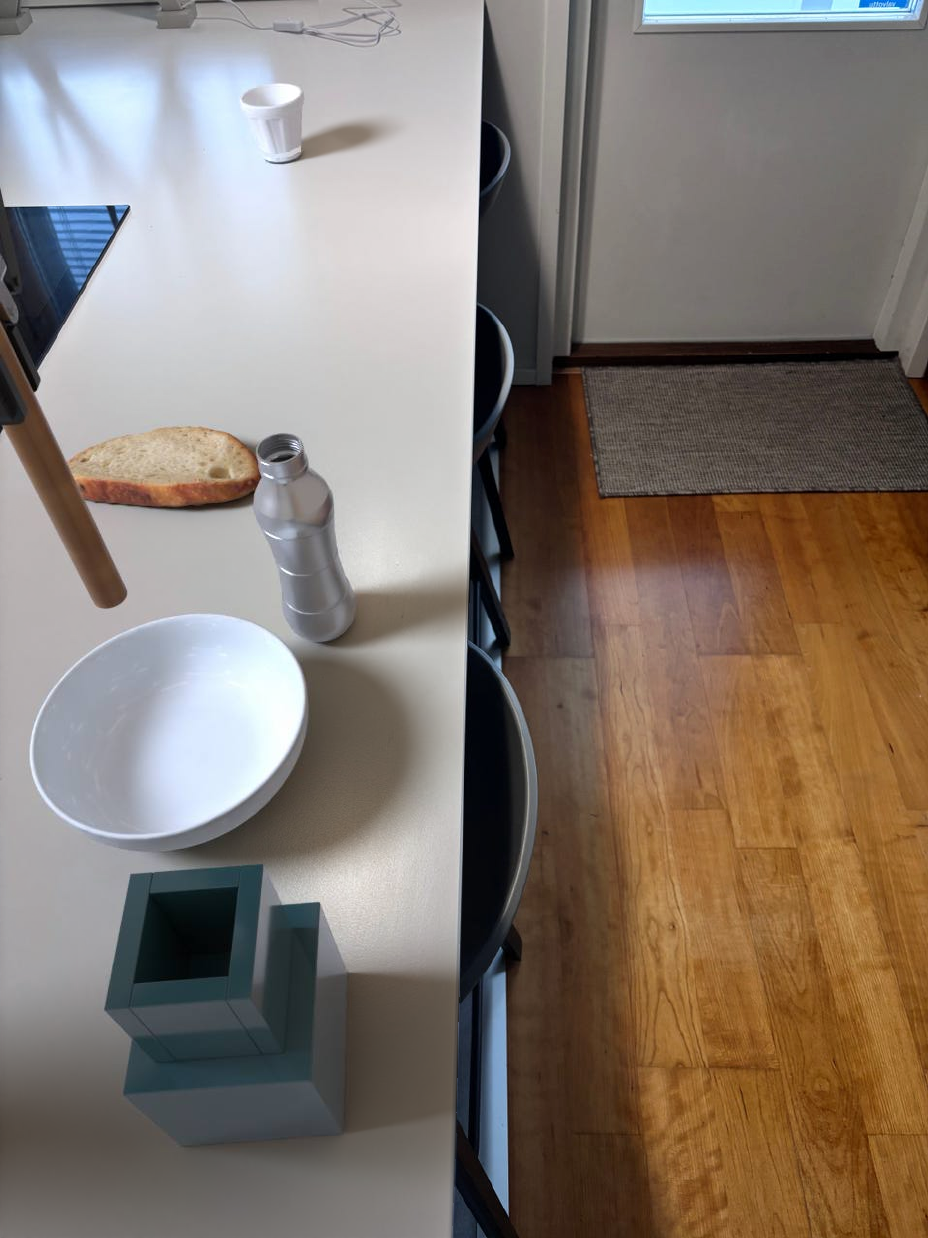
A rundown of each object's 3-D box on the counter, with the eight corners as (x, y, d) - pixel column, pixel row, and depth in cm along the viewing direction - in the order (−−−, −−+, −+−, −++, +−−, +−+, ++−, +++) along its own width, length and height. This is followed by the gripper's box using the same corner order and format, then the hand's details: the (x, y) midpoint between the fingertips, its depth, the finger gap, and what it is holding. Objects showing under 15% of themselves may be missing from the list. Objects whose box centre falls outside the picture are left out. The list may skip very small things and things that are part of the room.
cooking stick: (90, 610, 61) (-55, 334, 46) (97, 585, 62) (-41, 310, 48) (124, 607, 61) (-10, 331, 46) (130, 583, 62) (2, 307, 48)
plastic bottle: (347, 588, 89) (309, 411, 74) (369, 638, 84) (333, 462, 69) (280, 609, 87) (227, 433, 72) (299, 661, 83) (246, 486, 68)
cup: (323, 158, 153) (313, 96, 146) (266, 175, 150) (252, 112, 143) (299, 137, 159) (288, 77, 152) (243, 153, 156) (229, 93, 149)
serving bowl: (343, 667, 82) (330, 614, 77) (290, 893, 69) (270, 847, 64) (114, 657, 85) (87, 605, 80) (19, 874, 71) (-21, 829, 66)
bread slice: (50, 480, 102) (36, 452, 99) (197, 409, 109) (188, 381, 106) (125, 567, 92) (112, 539, 90) (281, 483, 99) (273, 454, 97)
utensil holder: (180, 1147, 58) (64, 1046, 44) (201, 983, 65) (107, 849, 50) (343, 1134, 58) (280, 1029, 44) (347, 972, 65) (294, 835, 50)
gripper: (-188, -4, 42) (-18, 340, 55) (-349, 119, 33) (-99, 497, 46) (-21, -18, 42) (110, 329, 55) (-135, 101, 33) (55, 484, 46)
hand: (14, 404), depth 50 cm, fingers closed on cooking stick, 2 cm apart
